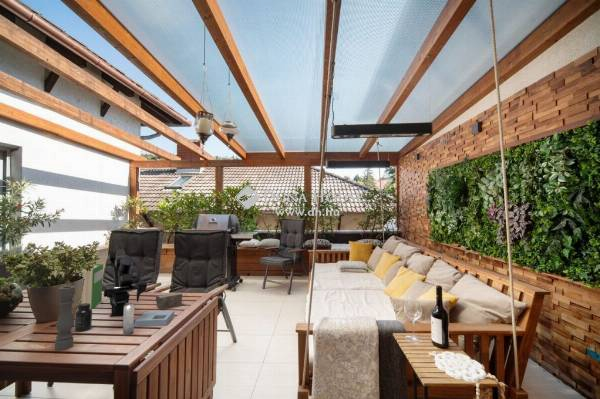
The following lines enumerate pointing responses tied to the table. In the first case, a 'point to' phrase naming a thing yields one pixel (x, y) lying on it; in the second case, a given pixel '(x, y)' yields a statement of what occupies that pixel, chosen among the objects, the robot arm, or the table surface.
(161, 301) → the stone block
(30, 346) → the table surface
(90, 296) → the hardback book
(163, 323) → the jig plate
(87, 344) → the table surface
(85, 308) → the supplement bottle
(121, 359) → the table surface
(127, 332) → the polished metal rod
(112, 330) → the table surface
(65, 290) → the candle holder
